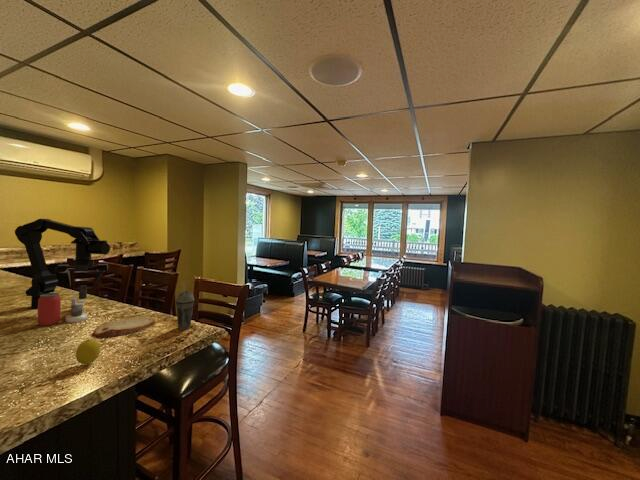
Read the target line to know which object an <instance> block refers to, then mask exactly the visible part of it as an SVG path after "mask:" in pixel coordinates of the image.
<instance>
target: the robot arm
mask: <svg viewBox="0 0 640 480" xmlns="http://www.w3.org/2000/svg"><path fill="white" fill-rule="evenodd" d="M47 230H53V231H56V232H60V233H63V234H67V235H68V236H70V237H71V238H74V239H73V240H71V241H70V244H71V245H73V244H75V260H74V262H73V265H69V263H67V264H65V263H64V264H58V265H56V266H55V267H54V272H55V273H51V272H50V271H49V269H48V266H47V262H46V260H45V256H44V253H43V250H42V245H41V241H42V239H43V233H45V232H46V231H47ZM14 233H15V237H16V238H17V240H18V241H19V242H20V243H21V244H22V245H24V247H25V249H26V253H27V256H28V260H29V263H30V265H31V269H32V272H33V277H32V278H31V281H30V282H31V286H30V287H29V288H27V289H26V291H25V294H26V296H27V297H31V302H30V303H31V304H30V306H27V309H38V300H39V298H40V295H42V294H47V293H55V290H56V288H57V287H58V286H59V285H58V284H59V283H58V282H59V280H58V278H57V276H58V275H57V274H56V273H58V274H60V275H63V277H64V278H65V280H66V283H67V285H68V287H71V284H72V283H71V282H72V281H71V271H74V272H79V271H80V272H81V271H82V272H86V271H89V270H96V271H95V278H94V286H96V285H97V283H98V280H99V277H100V276H101V274H102V273H103V274H104V273H105V272H107V271H108V270H109V264H108V263H98V264H96V265H95V261H94V259H92V255H104V256H105V255H108V254H109V252H110V251H111V247H110V245H109V243H108V240H101V239H100V238H99V236H98V235H97V234H96V232H95V230H94V228H92V227H88V226H76V225H71V224H67V223H63V222H59V221H56V220H52V219H50V218H38V219H36V220H34V221H31V222H28V223H25V224H23V225H19V226H17V227H16V228H15V230H14Z"/></svg>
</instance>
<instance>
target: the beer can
mask: <svg viewBox="0 0 640 480" xmlns="http://www.w3.org/2000/svg"><path fill="white" fill-rule="evenodd" d="M61 299H62V298H61V296H60V293H58V292H51V293H47V294H42V295H40V298H39V300H38V308H37V325H38V326H40V327H42V326H43V327H45V326H46V327H47V326H52V325H57V324H58V323H60V322H61V303H62V302H61Z"/></svg>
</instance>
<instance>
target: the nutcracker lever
mask: <svg viewBox="0 0 640 480" xmlns="http://www.w3.org/2000/svg"><path fill="white" fill-rule="evenodd" d="M87 288H88V286H87V285H85V284H84V285H83V284H82V285H79V286H78V296H72V297H71V299H70V302H71V303H70V307H71V308H70V314H71V316H79V315H82V313H83V308H84V306H85V304H86V301H87V294H88V293H87V292H88V289H87ZM78 299H79V300H78Z"/></svg>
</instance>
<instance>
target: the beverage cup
mask: <svg viewBox="0 0 640 480" xmlns="http://www.w3.org/2000/svg"><path fill="white" fill-rule="evenodd" d="M182 287H183V291H182V292H180V293H179V294H177V297H176V299H175V305H176V306H175V307H176V317H177V320H176V321H177V327H178V328H177V329H178V330H181V331H184V330H185V331H186V330H189V329H190V328H191V324H192V315H193V308H194V305H195V297H194V294H193V293H191V291H186V289H185V281H182Z"/></svg>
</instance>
